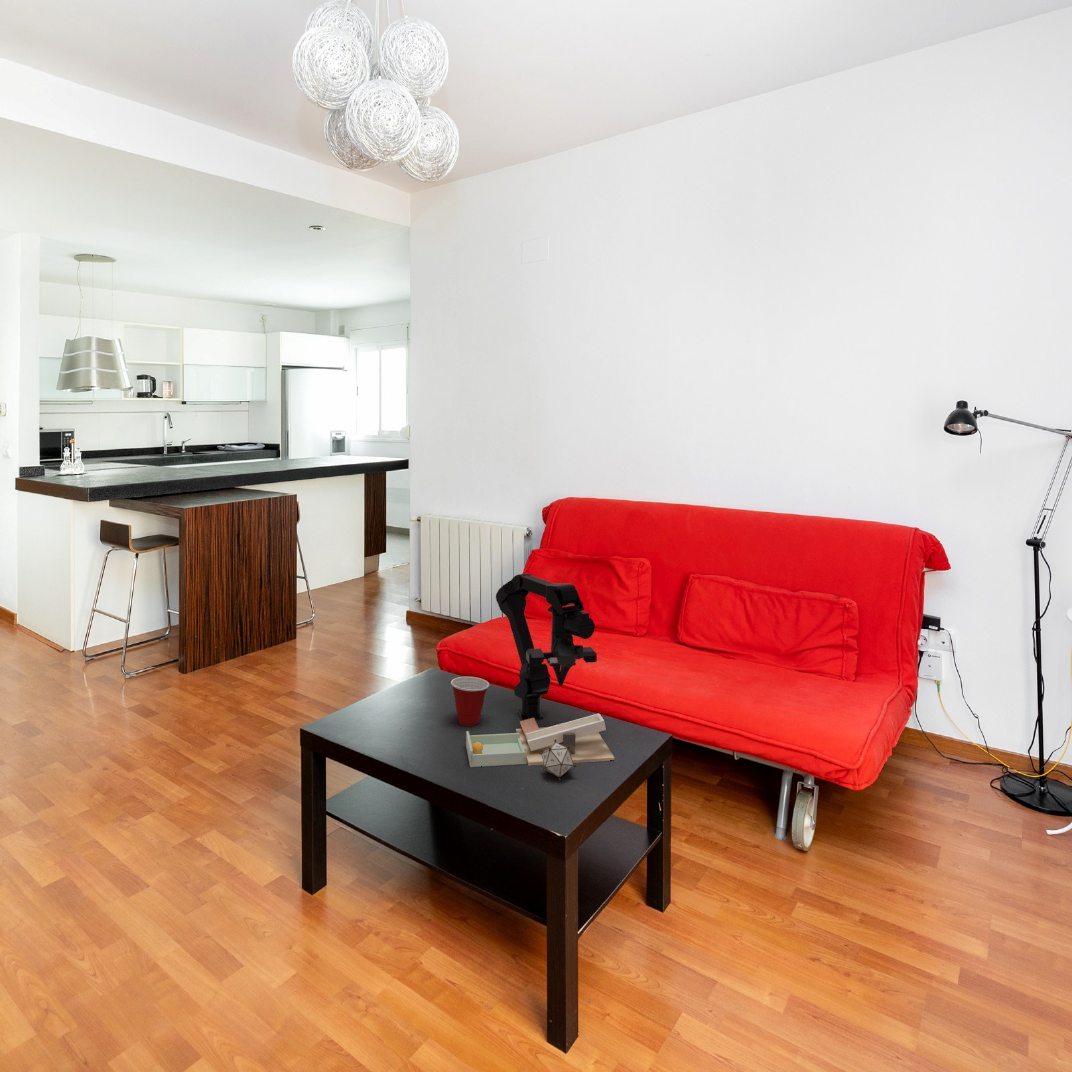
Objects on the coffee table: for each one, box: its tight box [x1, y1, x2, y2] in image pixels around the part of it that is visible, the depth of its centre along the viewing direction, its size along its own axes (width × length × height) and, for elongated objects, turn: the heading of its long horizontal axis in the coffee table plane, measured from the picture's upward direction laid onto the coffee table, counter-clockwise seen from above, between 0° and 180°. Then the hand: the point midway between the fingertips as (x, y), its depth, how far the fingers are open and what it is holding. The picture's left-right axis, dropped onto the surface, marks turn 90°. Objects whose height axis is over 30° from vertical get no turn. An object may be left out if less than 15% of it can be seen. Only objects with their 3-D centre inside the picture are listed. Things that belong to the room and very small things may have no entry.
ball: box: [472, 742, 483, 754], centre depth 184 cm, size 3×3×3 cm
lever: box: [519, 713, 607, 751], centre depth 193 cm, size 17×20×3 cm
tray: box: [465, 730, 528, 768], centre depth 185 cm, size 12×14×4 cm
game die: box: [539, 739, 578, 782], centre depth 174 cm, size 9×8×10 cm
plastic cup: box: [450, 676, 490, 727], centre depth 205 cm, size 11×11×12 cm
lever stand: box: [515, 722, 615, 766], centre depth 191 cm, size 21×22×6 cm
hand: (560, 685), depth 199 cm, fingers closed
